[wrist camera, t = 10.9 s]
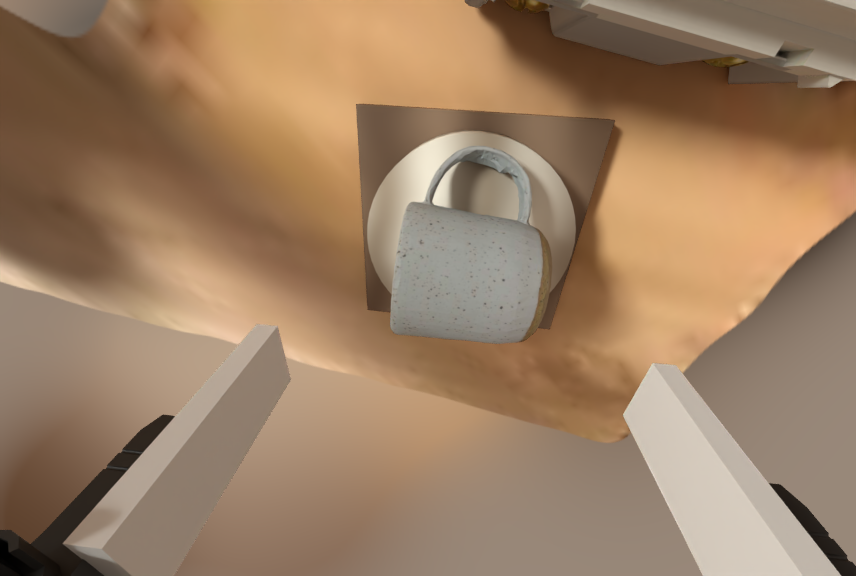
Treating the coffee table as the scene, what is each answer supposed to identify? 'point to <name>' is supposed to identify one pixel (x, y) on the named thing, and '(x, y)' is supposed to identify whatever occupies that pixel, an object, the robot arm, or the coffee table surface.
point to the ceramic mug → (471, 265)
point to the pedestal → (474, 178)
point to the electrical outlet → (717, 34)
